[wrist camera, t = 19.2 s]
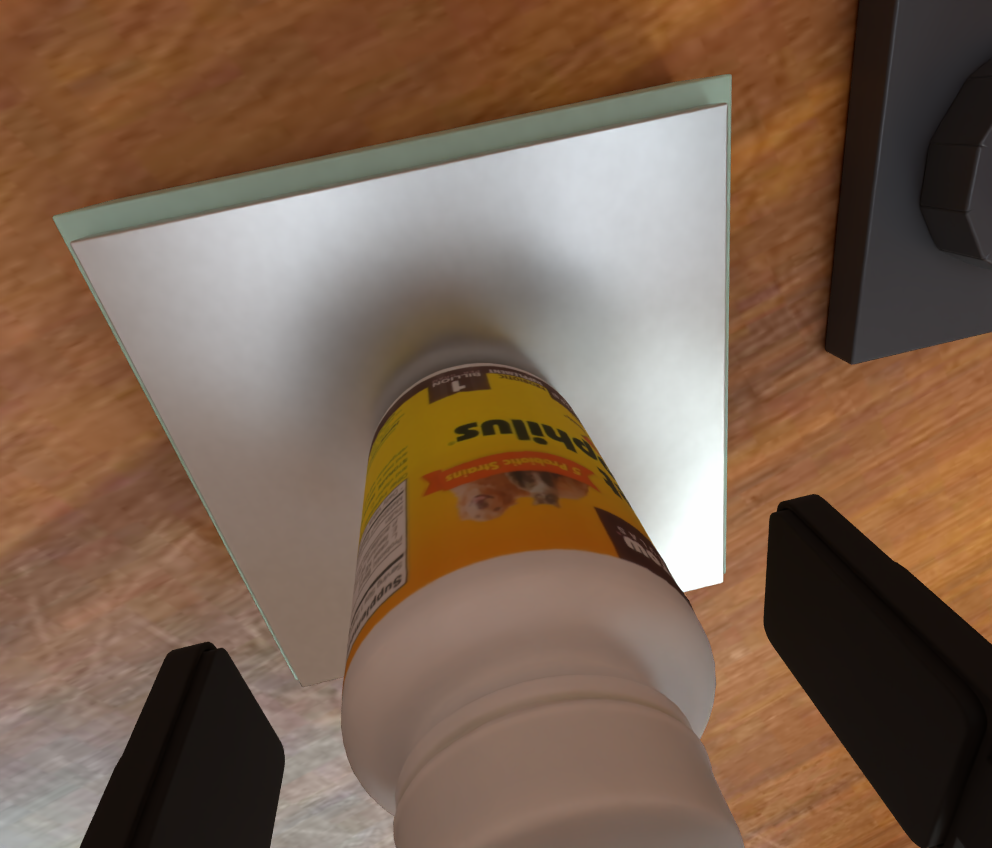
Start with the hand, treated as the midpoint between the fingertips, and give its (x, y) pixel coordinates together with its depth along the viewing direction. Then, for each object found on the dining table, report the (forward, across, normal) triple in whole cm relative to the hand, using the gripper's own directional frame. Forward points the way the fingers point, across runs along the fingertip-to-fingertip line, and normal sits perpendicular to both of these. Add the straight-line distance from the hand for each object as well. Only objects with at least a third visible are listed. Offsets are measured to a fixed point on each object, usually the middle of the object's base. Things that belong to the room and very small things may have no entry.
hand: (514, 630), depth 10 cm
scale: (+10, 0, 0) cm, 10 cm away
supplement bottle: (+6, 0, 0) cm, 6 cm away
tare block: (+10, -17, -4) cm, 20 cm away
